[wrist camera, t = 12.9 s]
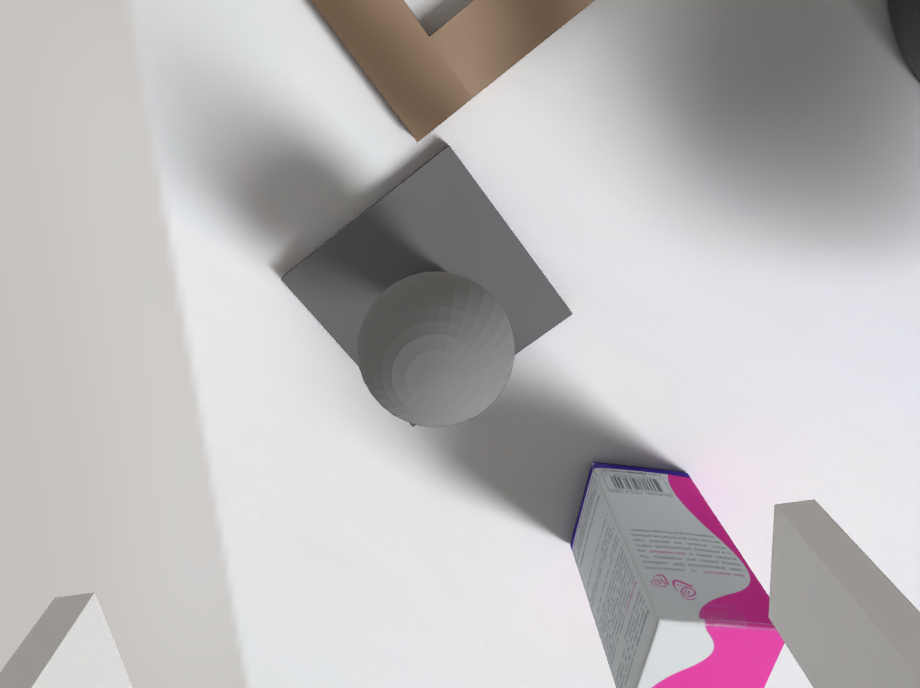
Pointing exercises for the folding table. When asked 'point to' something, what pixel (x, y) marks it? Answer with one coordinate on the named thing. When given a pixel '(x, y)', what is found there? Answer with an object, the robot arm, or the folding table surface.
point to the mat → (425, 256)
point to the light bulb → (435, 349)
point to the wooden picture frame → (441, 49)
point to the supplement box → (669, 585)
